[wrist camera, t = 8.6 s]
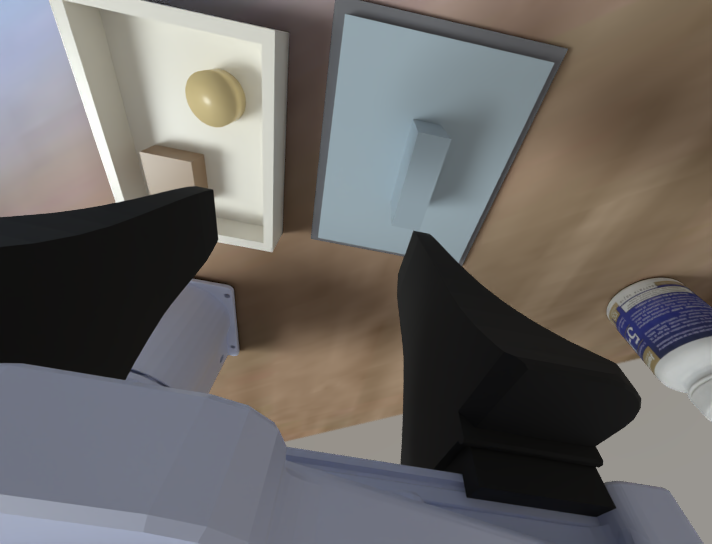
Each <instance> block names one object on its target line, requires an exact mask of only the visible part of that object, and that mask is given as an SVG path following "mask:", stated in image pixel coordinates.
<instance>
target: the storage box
mask: <svg viewBox="0 0 712 544" xmlns="http://www.w3.org/2000/svg"><path fill="white" fill-rule="evenodd" d="M49 2H50V5H51V8H52V11H53V14H54V17H55V20H56V23H57V26H58V29H59V32H60V35H61V38H62V41H63V44H64V47H65V50H66V53H67V56H68V59H69V62H70V65H71V68H72V71H73V74H74V78H75V81H76V84H77V87H78V90H79V93H80V96H81V99H82V102H83V105H84V108H85V111H86V114H87V117H88V120H89V123H90V126H91V129H92V132H93V135H94V138H95V141H96V144H97V147H98V150H99V153H100V156H101V159H102V162H103V165H104V168H105V171H106V174H107V177H108V180H109V183H110V186H111V189H112V192H113V195H114V198H115V201H116V203H117V202H122V201H126V200H131V199H136V198H140V197H144V196H148V195H153V194H157V193H161V192H165V191H169V190H174V189H178V188H184V187H190V186H198V187H203V188H208V189H213V191H214V201H215V211H216V221H217V231H218V241H217V242H220V243H226V244H231V245H236V246H242V247H247V248H253V249H258V250H263V251H269V252H273V250H274V248H275V246H276V245H277V243H278V241H279V239H280V237H281V235H282V233H283V205H284V176H285V147H286V117H287V88H288V58H289V32H284V31H280V30H276V29H271V28H267V27H262V26H258V25H253V24H249V23H244V22H240V21H235V20H231V19H227V18H222V17H218V16H213V15H209V14H204V13H200V12H195V11H191V10H186V9H182V8H178V7H173V6H169V5H164V4H160V3H155V2H151V1H146V0H49Z"/></svg>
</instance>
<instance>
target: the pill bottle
mask: <svg viewBox="0 0 712 544" xmlns="http://www.w3.org/2000/svg"><path fill="white" fill-rule="evenodd" d="M607 316H608V319H609V320H610V321H611V323H612V324H613V325H614V326H615V328H616V329H617V330H618V331H619V332H620V334H621V335H622V336H623V337H624V338H625V339H626V341H627V342H628V343H629V344H630V345H631V347H632V348H633V349H634V350H635V352H636V353H637V354H638V355H639V356H640V358H641V359H642V360H643V361H644V363H645V364H646V365H647V366H648V367H649V369H650V370H651V371H652V372H653V374H654V375H655V376H656V377H657V378H658V379H659V380H660V381H661V382H662V383H663V384H664V385H665V386H667V387H669V388H671V389H673V390H676V391H679V392H684V393H688V398H689V399H690V400H691V402H692V403H693V404H694V405H695V406H696V407H697V408H698V410H699V411H700V412H701V413H702V414H703V415H704V416H705V417H706V418H707V419H708V420H709V421H711V422H712V307H711V306H709V305H708V304H707V303H706V302H704V301H703V300H702V299H701V298H699V297H698V296H697V295H696V294H695V293H693V292H692V291H691V290H690V289H688V288H687V287H686V286H685V285H683V284H682V283H681V282H679V281H677V280H674V279H670V278H652V279H647V280H643V281H639V282H637V283H634V284H632V285H630V286H628V287H626V288H624V289H623V290H621V291H620V292H619V293H618V294H616V295H615V296H614V297H613V298H612V300H611V301H610V303H609V304H608V307H607Z"/></svg>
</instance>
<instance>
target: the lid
mask: <svg viewBox="0 0 712 544" xmlns="http://www.w3.org/2000/svg"><path fill="white" fill-rule="evenodd" d="M553 65H554V63H553V62H549V61H545V60H541V59H536V58H532V57H528V56H523V55H519V54H515V53H511V52H506V51H502V50H498V49H493V48H489V47H485V46H481V45H476V44H472V43H468V42H463V41H459V40H455V39H451V38H446V37H442V36H438V35H433V34H429V33H425V32H421V31H416V30H412V29H408V28H403V27H399V26H395V25H391V24H386V23H382V22H378V21H373V20H369V19H365V18H361V17H356V16H352V15H348V14H345V18H344V26H343V35H342V43H341V51H340V59H339V68H338V76H337V84H336V93H335V101H334V109H333V117H332V126H331V134H330V142H329V151H328V159H327V167H326V175H325V184H324V192H323V200H322V208H321V217H320V225H319V233H318V238H322V239H327V240H332V241H337V242H343V243H348V244H353V245H358V246H363V247H368V248H374V249H379V250H384V251H389V252H394V253H399V254H405V253H406V250H407V247H408V245H409V242H410V239H411V236H412V233H413V231H418V232H423V233H428V234H430V235H432V236H433V237H434V238H435V239H436V240H437V241H438V242H439V243H440V244H441V245H442V246H443V247H444V249H445V250H446V251H447V252H448V253H449V254H450V255H451V256H452V257H453V258H454V259H455V260H456V261H457V262H458V263H459V261H460V259H461V257H462V255H463V252H464V250H465V248H466V246H467V244H468V242H469V240H470V238H471V236H472V234H473V232H474V230H475V228H476V225H477V223H478V221H479V219H480V217H481V215H482V213H483V211H484V209H485V207H486V205H487V203H488V200H489V198H490V196H491V194H492V192H493V190H494V188H495V186H496V184H497V182H498V180H499V178H500V175H501V173H502V171H503V169H504V167H505V165H506V163H507V161H508V159H509V157H510V155H511V153H512V151H513V148H514V146H515V144H516V142H517V140H518V138H519V136H520V134H521V132H522V130H523V128H524V126H525V123H526V121H527V119H528V117H529V115H530V113H531V111H532V109H533V107H534V105H535V103H536V101H537V98H538V96H539V94H540V92H541V90H542V88H543V86H544V84H545V82H546V80H547V78H548V76H549V73H550V71H551V69H552V67H553Z"/></svg>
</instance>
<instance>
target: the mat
mask: <svg viewBox="0 0 712 544" xmlns="http://www.w3.org/2000/svg"><path fill="white" fill-rule="evenodd" d="M345 14H348V15H352V16H356V17H361V18H365V19H369V20H373V21H378V22H382V23H386V24H391V25H395V26H399V27H403V28H408V29H412V30H416V31H421V32H425V33H429V34H433V35H438V36H442V37H446V38H451V39H455V40H459V41H463V42H468V43H472V44H476V45H481V46H485V47H489V48H493V49H498V50H502V51H506V52H511V53H515V54H519V55H523V56H528V57H532V58H536V59H541V60H545V61H549V62H553V63H554V65H553V67H552V69H551V71H550V73H549V76H548V78H547V80H546V82H545V84H544V86H543V88H542V90H541V92H540V94H539V96H538V98H537V101H536V103H535V105H534V107H533V109H532V111H531V113H530V115H529V117H528V119H527V121H526V123H525V126H524V128H523V130H522V132H521V134H520V136H519V138H518V140H517V142H516V144H515V146H514V148H513V151H512V153H511V155H510V157H509V159H508V161H507V163H506V165H505V167H504V169H503V171H502V173H501V175H500V178H499V180H498V182H497V184H496V186H495V188H494V190H493V192H492V194H491V196H490V198H489V200H488V203H487V205H486V207H485V209H484V211H483V213H482V215H481V217H480V219H479V221H478V223H477V225H476V228H475V230H474V232H473V234H472V236H471V238H470V240H469V242H468V244H467V246H466V248H465V250H464V252H463V255H462V257H461V259H460V261H459V264H460V265H461V266H462V265H463V263H464V261H465V259H466V257H467V255H468V253H469V250H470V248H471V246H472V244H473V242H474V240H475V238H476V236H477V234H478V232H479V230H480V228H481V226H482V224H483V222H484V220H485V218H486V216H487V214H488V212H489V210H490V208H491V206H492V203H493V201H494V199H495V197H496V195H497V193H498V191H499V189H500V187H501V185H502V183H503V181H504V179H505V177H506V175H507V173H508V171H509V169H510V167H511V165H512V163H513V161H514V159H515V156H516V154H517V152H518V150H519V148H520V146H521V144H522V142H523V140H524V138H525V136H526V134H527V132H528V130H529V128H530V126H531V124H532V122H533V120H534V118H535V116H536V114H537V112H538V109H539V107H540V105H541V103H542V101H543V99H544V97H545V95H546V93H547V91H548V89H549V87H550V85H551V83H552V81H553V79H554V77H555V75H556V73H557V71H558V69H559V67H560V65H561V62H562V60H563V58H564V56H565V54H566V52H567V50H568V49H567V48H562V47H558V46H554V45H550V44H545V43H541V42H537V41H532V40H528V39H524V38H519V37H515V36H511V35H507V34H502V33H498V32H494V31H489V30H485V29H481V28H476V27H472V26H468V25H464V24H459V23H455V22H451V21H446V20H442V19H438V18H433V17H429V16H425V15H421V14H416V13H412V12H408V11H403V10H399V9H395V8H390V7H386V6H382V5H378V4H373V3H369V2H365V1H360V0H335V6H334V16H333V26H332V36H331V46H330V56H329V66H328V75H327V85H326V95H325V105H324V115H323V125H322V135H321V144H320V154H319V164H318V174H317V184H316V194H315V204H314V213H313V223H312V233H311V239H315V240H320V241H326V242H331V243H336V244H341V245H347V246H352V247H357V248H362V249H368V250H373V251H378V252H383V253H389V254H394V255H399V256H405V254H399V253H394V252H389V251H384V250H379V249H374V248H368V247H363V246H358V245H353V244H348V243H343V242H337V241H332V240H327V239H322V238H318V233H319V225H320V217H321V208H322V200H323V192H324V184H325V175H326V167H327V159H328V151H329V142H330V134H331V126H332V117H333V109H334V101H335V93H336V84H337V76H338V68H339V59H340V51H341V43H342V35H343V26H344V18H345Z"/></svg>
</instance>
